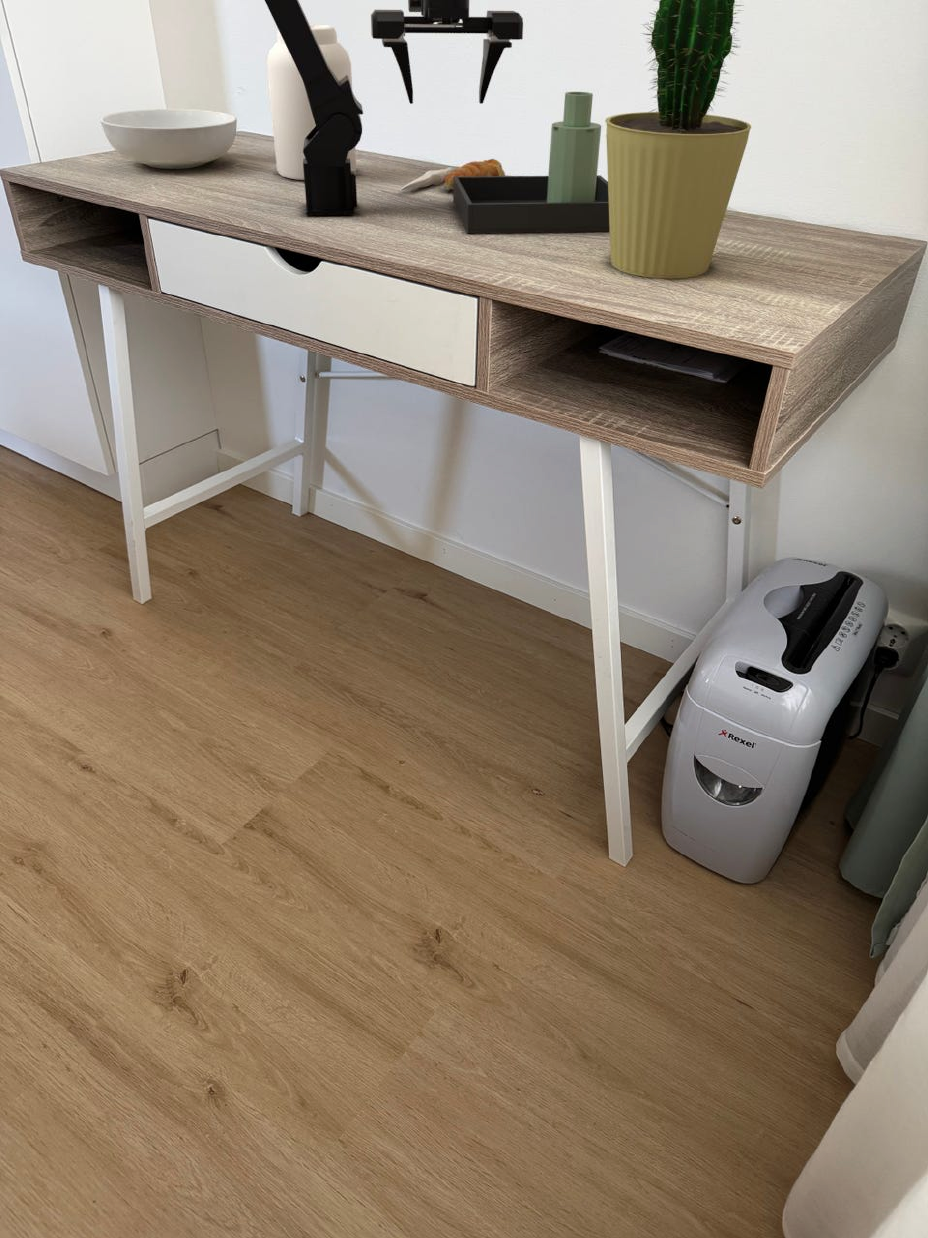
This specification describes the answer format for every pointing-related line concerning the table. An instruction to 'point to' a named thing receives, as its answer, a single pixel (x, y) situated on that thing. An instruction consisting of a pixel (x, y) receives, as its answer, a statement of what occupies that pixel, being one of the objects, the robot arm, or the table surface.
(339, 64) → the cream vase
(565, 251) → the table surface
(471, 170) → the pastry
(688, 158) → the potted cactus
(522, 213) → the tray
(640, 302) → the table surface
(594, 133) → the bottle
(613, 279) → the table surface
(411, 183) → the parsnip
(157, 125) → the serving bowl
